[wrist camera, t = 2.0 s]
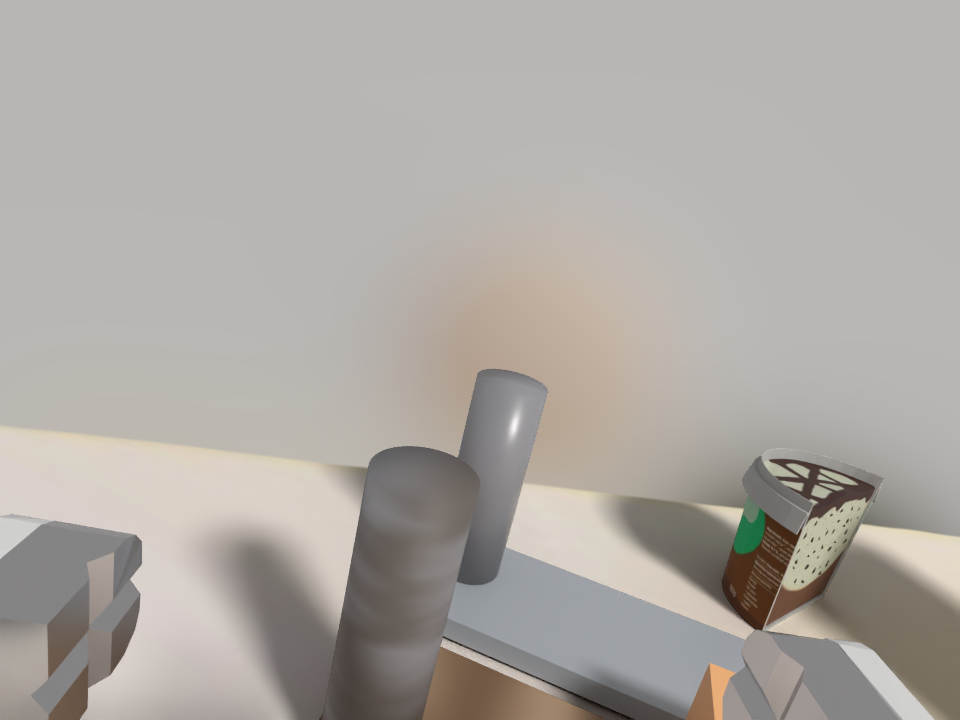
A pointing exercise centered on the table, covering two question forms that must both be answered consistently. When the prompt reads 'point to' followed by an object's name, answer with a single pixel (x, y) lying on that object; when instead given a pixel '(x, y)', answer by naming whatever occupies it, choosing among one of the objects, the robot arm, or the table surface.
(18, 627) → the robot arm
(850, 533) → the food container
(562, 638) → the grey post on base
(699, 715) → the terracotta block
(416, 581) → the grey post on board
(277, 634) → the table surface
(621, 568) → the table surface
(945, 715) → the table surface
